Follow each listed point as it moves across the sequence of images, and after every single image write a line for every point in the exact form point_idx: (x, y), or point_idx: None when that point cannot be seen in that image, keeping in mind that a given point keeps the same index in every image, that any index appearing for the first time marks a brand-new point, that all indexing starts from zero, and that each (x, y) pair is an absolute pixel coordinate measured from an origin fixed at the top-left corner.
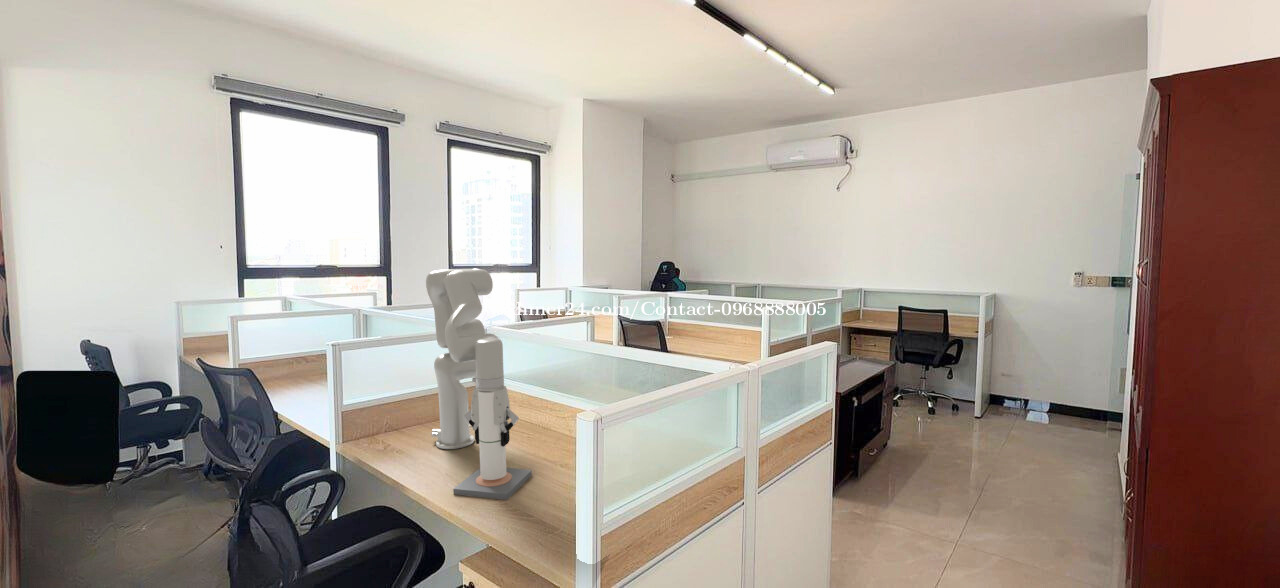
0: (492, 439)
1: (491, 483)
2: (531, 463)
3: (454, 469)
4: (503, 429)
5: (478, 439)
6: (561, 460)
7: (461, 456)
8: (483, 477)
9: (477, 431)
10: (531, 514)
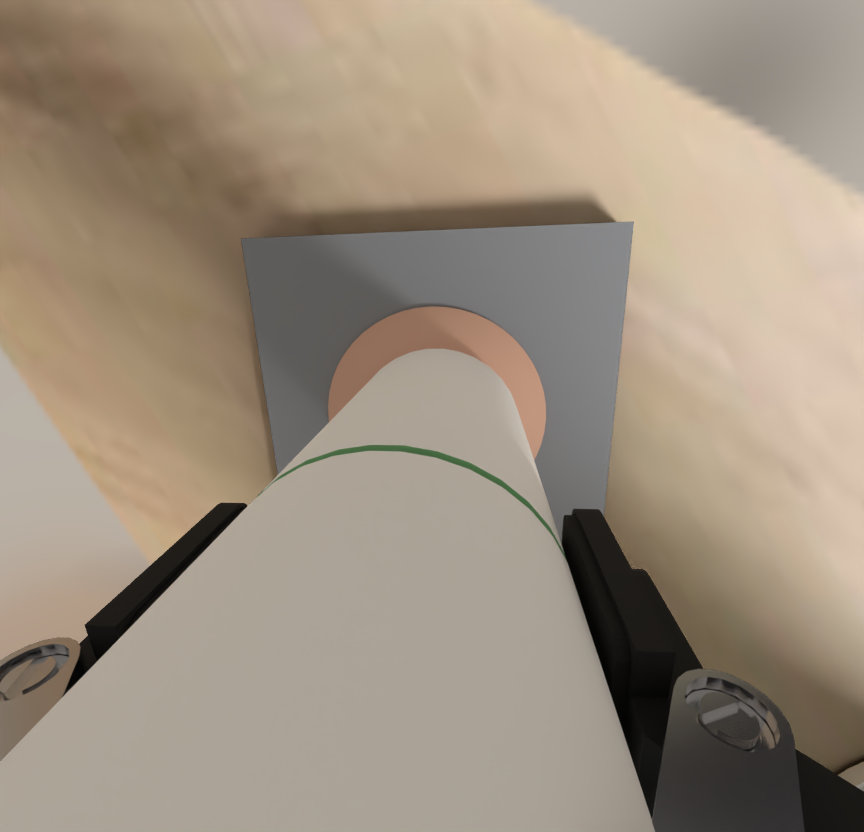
0: (273, 492)
1: (410, 348)
2: None
3: (773, 536)
4: (23, 693)
5: (577, 551)
6: None
7: (802, 682)
8: (466, 355)
9: (627, 647)
10: (23, 105)
